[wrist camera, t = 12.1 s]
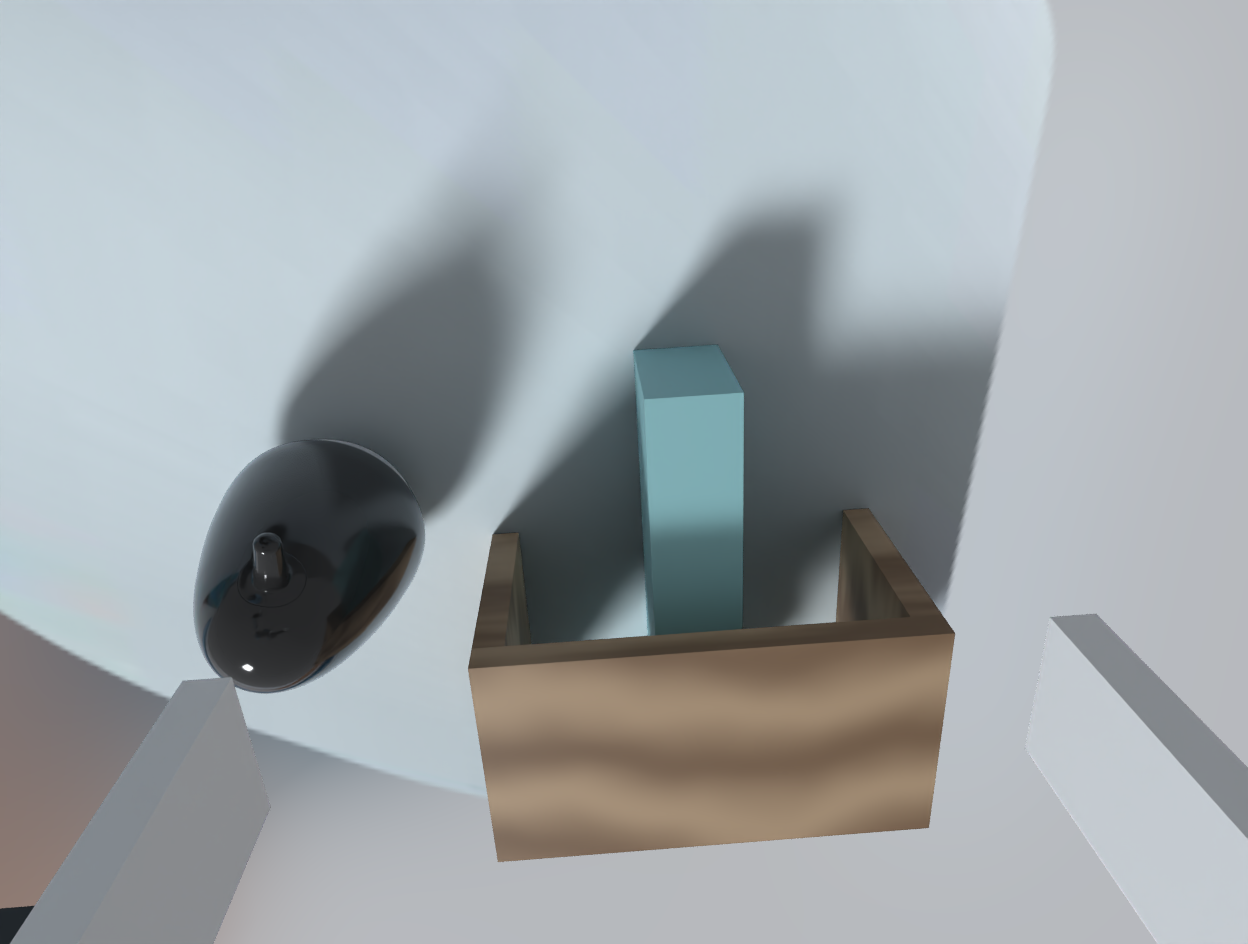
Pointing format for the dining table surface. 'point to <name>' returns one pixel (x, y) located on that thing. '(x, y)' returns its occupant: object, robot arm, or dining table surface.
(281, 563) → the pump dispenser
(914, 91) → the dining table surface
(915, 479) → the dining table surface
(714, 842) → the walnut shelf
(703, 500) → the teal batten
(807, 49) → the dining table surface
